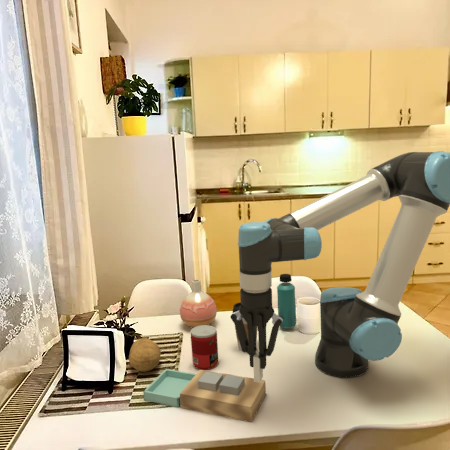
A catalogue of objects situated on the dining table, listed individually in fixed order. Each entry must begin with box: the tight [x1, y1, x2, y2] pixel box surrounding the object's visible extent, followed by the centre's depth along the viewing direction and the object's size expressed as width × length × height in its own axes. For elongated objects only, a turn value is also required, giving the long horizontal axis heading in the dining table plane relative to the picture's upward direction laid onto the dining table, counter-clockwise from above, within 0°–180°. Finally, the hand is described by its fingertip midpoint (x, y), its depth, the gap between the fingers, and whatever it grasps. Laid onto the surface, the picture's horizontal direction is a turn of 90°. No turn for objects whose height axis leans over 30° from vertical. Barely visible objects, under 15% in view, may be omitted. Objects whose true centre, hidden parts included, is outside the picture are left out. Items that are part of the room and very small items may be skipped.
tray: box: [142, 368, 197, 408], centre depth 113 cm, size 10×12×2 cm
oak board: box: [180, 369, 267, 423], centre depth 107 cm, size 19×12×4 cm, turn 68°
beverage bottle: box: [276, 273, 297, 329], centre depth 147 cm, size 6×7×20 cm
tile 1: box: [198, 370, 223, 391], centre depth 108 cm, size 5×5×2 cm
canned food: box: [190, 324, 219, 371], centre depth 126 cm, size 8×8×11 cm
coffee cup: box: [232, 301, 258, 353], centre depth 134 cm, size 8×8×15 cm
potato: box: [128, 337, 162, 373], centre depth 126 cm, size 10×14×8 cm
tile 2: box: [219, 374, 245, 395], centre depth 106 cm, size 5×5×2 cm
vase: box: [179, 278, 218, 329], centre depth 153 cm, size 14×14×18 cm
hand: (258, 379), depth 102 cm, fingers closed
